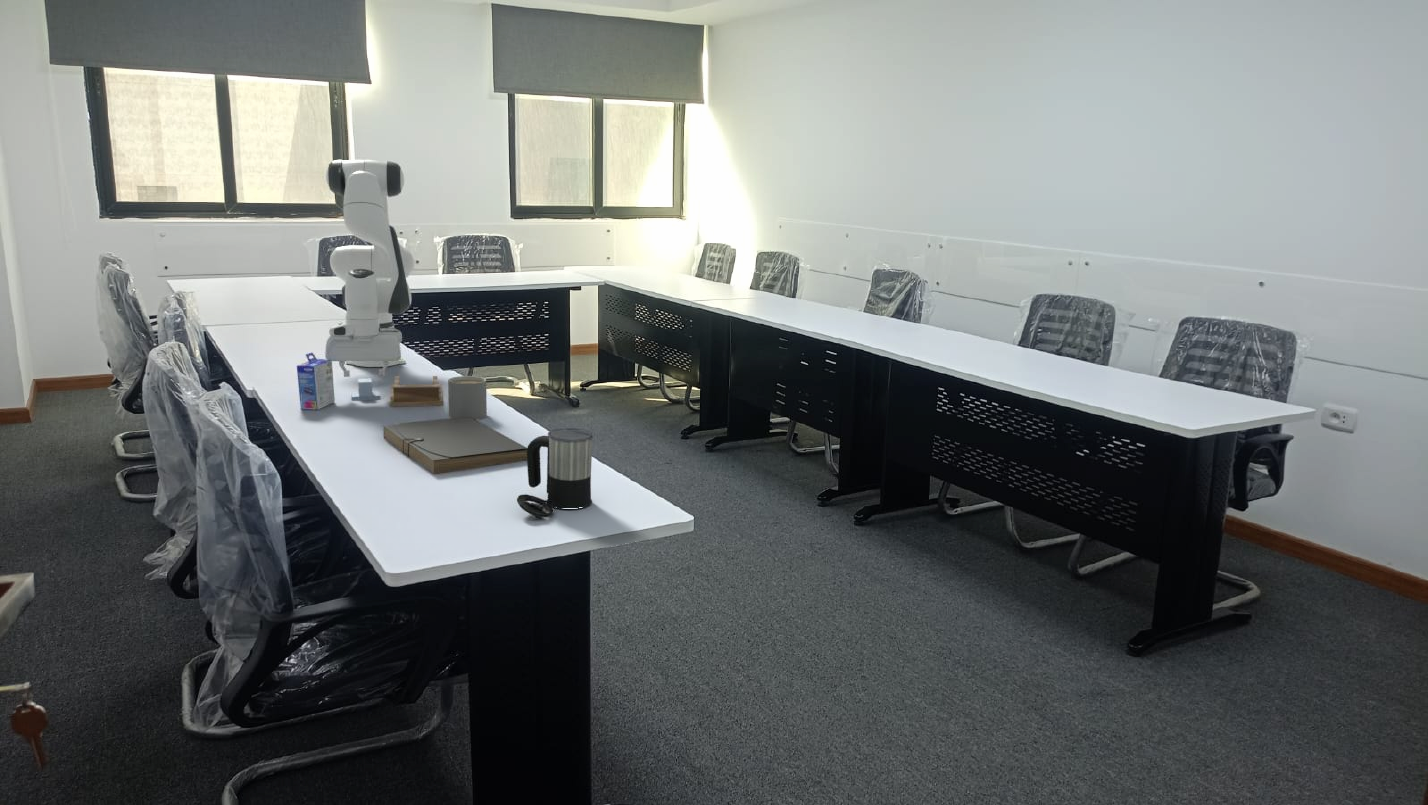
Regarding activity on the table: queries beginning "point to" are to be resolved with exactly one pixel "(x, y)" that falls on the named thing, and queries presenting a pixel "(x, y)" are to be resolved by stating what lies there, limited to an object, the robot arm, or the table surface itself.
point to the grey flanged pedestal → (365, 390)
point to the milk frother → (560, 471)
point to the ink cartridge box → (315, 383)
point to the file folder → (454, 444)
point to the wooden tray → (416, 394)
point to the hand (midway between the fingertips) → (364, 376)
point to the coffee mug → (467, 397)
